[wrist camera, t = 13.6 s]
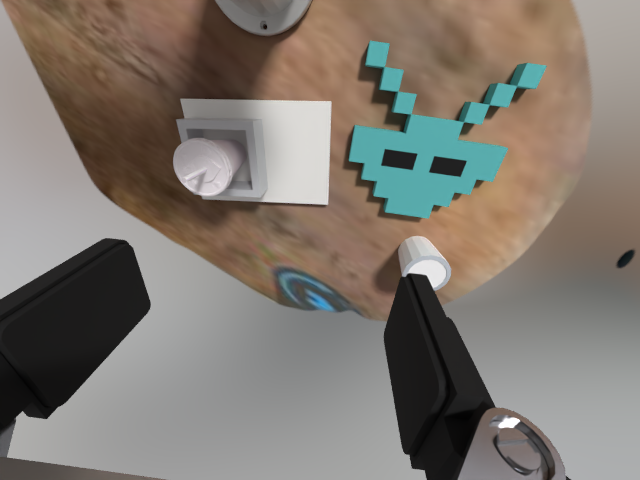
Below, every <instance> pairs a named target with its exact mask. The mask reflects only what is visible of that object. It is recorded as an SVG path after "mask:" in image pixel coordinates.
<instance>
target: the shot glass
mask: <svg viewBox="0 0 640 480" xmlns="http://www.w3.org/2000/svg"><path fill="white" fill-rule="evenodd" d="M398 256H399V261H400V267H401V273H402V276H403V277H406V275H407V274H408V273H414V274H423V275H427V277H428V279H429V281H430V283H431V285H432V287H433V289H434V291H435V290H438V289H440V288H441V287H443V286H444V285H445V284H446V283H447V282H448V280H449V278H450V277H451V267H450V265H449V263H448V262H447V261H446V259H445V258H444V257H443V256H442V255H441V254H440V252H439V251H438V250H437V249H436V248H435V247H434V245H433V244H432V243H431V242H430V241H429V240H428V239H426V238H425V237H421V236H413V237H410V238H408V239H406V240H404V241H403V242H402V243H401V244H400V246H399V249H398Z"/></svg>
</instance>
